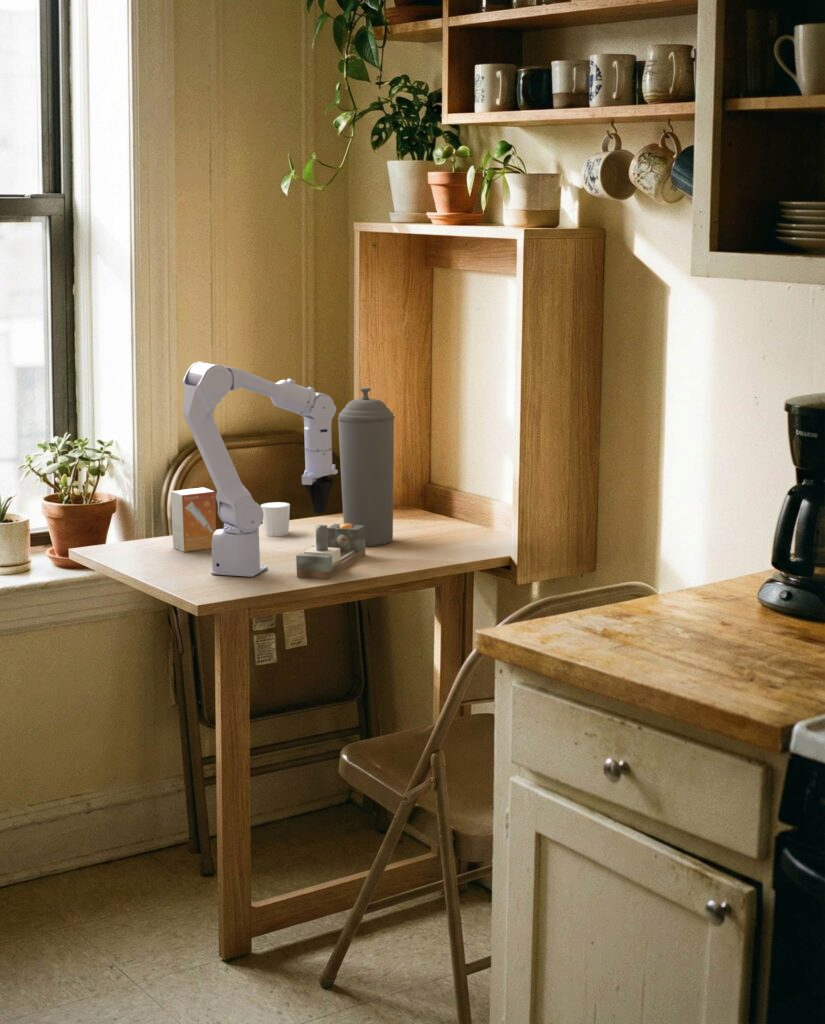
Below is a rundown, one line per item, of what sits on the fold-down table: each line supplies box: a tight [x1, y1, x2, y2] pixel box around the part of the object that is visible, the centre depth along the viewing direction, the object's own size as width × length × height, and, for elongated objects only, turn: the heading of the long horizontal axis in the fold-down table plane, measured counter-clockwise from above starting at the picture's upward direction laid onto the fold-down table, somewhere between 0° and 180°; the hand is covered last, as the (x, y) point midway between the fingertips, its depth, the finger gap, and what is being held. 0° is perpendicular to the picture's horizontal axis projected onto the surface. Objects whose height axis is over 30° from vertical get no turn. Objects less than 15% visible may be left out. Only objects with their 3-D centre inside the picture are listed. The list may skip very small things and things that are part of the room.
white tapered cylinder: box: [260, 501, 291, 537], centre depth 316 cm, size 7×7×7 cm
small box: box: [170, 486, 217, 553], centre depth 302 cm, size 8×6×13 cm
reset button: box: [339, 522, 353, 529], centre depth 293 cm, size 3×3×3 cm
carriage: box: [303, 524, 340, 564], centre depth 279 cm, size 6×5×7 cm
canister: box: [336, 387, 395, 547], centre depth 303 cm, size 13×13×35 cm
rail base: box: [295, 523, 367, 580], centre depth 285 cm, size 7×22×6 cm, turn 162°
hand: (320, 512), depth 288 cm, fingers closed
